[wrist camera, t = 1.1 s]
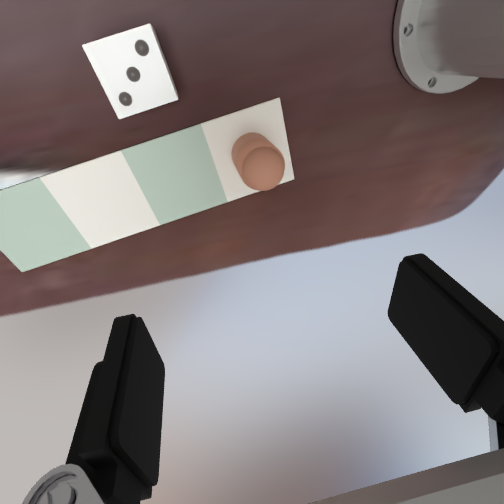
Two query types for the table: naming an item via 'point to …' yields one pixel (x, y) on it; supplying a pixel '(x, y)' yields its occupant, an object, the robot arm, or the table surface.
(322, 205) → the table surface
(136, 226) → the board
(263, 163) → the pawn
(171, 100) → the die
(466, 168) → the table surface
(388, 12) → the table surface
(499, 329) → the robot arm
